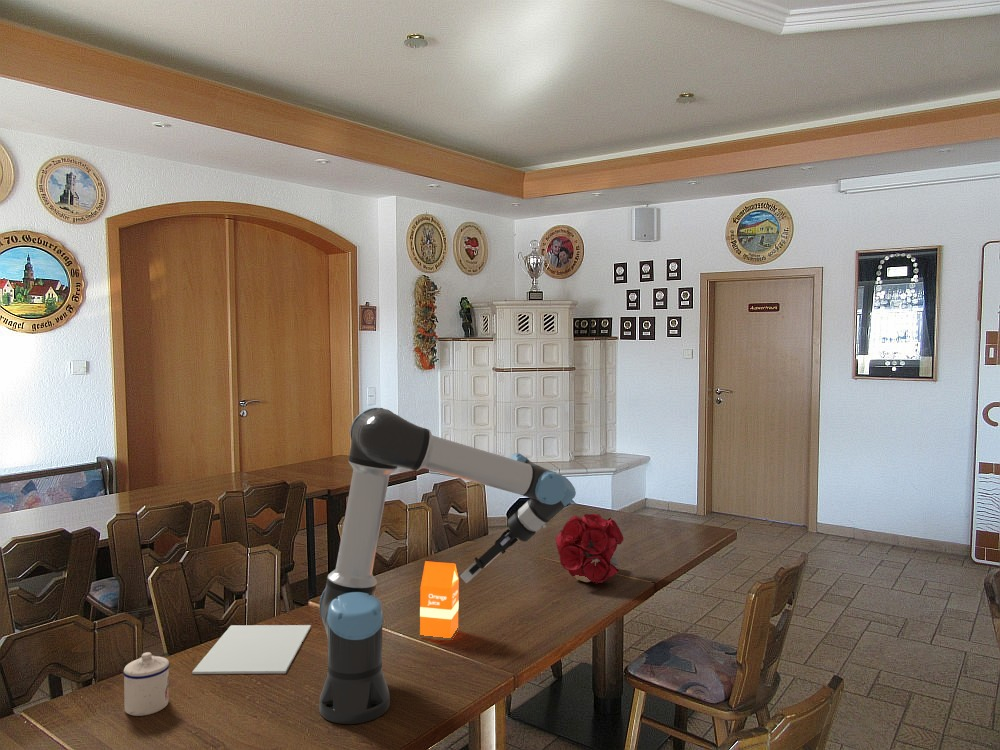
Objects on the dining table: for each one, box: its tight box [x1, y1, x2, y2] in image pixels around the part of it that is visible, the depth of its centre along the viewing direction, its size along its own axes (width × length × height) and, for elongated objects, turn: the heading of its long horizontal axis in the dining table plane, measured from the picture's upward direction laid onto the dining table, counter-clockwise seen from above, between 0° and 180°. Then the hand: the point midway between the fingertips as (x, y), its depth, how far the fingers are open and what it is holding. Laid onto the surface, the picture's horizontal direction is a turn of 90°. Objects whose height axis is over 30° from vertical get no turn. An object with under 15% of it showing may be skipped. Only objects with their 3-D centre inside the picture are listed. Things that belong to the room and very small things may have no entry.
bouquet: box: [555, 513, 625, 584], centre depth 244 cm, size 22×24×30 cm
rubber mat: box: [191, 624, 312, 675], centre depth 185 cm, size 28×22×1 cm
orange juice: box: [419, 560, 460, 638], centre depth 195 cm, size 8×9×20 cm
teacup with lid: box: [122, 651, 171, 717], centre depth 156 cm, size 12×9×12 cm
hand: (472, 571), depth 192 cm, fingers open, 13 cm apart
